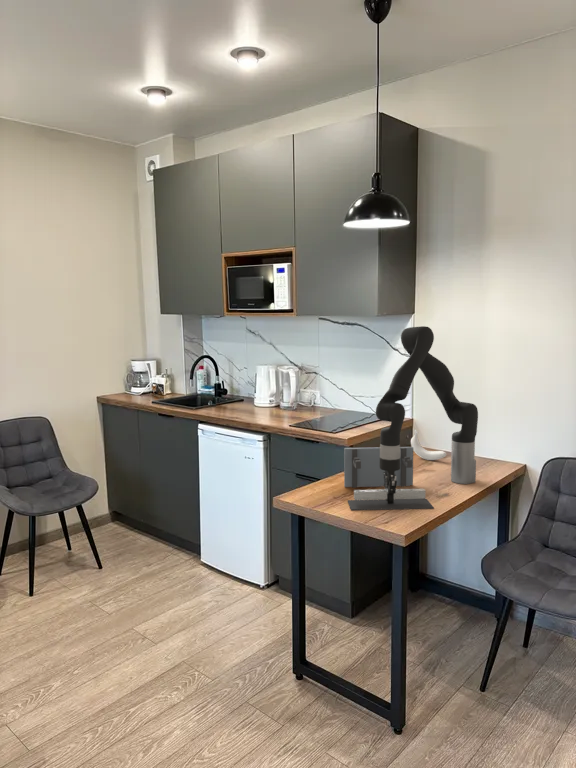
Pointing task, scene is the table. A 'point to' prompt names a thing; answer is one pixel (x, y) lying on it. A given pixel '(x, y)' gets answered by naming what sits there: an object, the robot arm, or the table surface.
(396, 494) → the rail
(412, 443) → the banana
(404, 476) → the rail stand
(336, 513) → the table surface
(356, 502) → the mat
